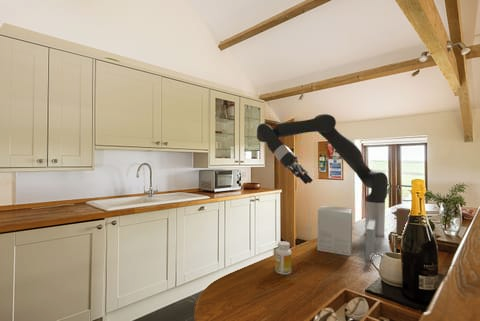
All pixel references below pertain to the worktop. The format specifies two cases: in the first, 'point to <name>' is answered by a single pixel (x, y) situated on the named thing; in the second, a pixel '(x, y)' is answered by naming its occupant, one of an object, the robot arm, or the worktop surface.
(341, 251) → the supplement box
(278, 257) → the supplement bottle
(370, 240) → the grey board
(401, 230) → the wooden block
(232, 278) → the worktop surface
